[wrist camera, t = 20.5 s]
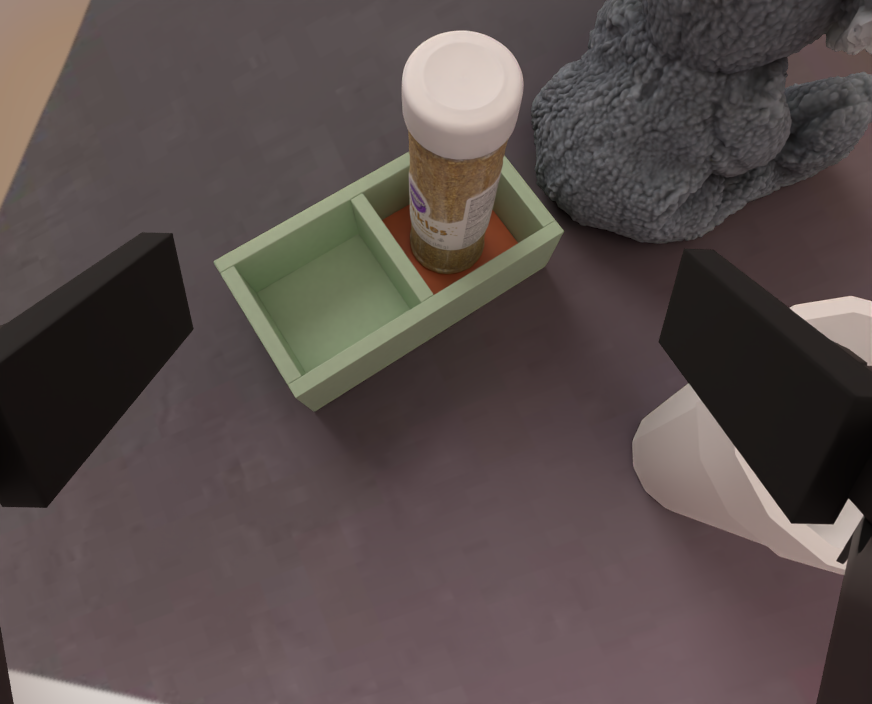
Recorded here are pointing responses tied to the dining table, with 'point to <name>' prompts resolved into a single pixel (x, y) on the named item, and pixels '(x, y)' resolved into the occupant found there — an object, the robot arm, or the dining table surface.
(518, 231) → the green divided tray
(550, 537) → the dining table surface
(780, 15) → the koala plush
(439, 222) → the sprinkles bottle
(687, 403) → the foam cup
